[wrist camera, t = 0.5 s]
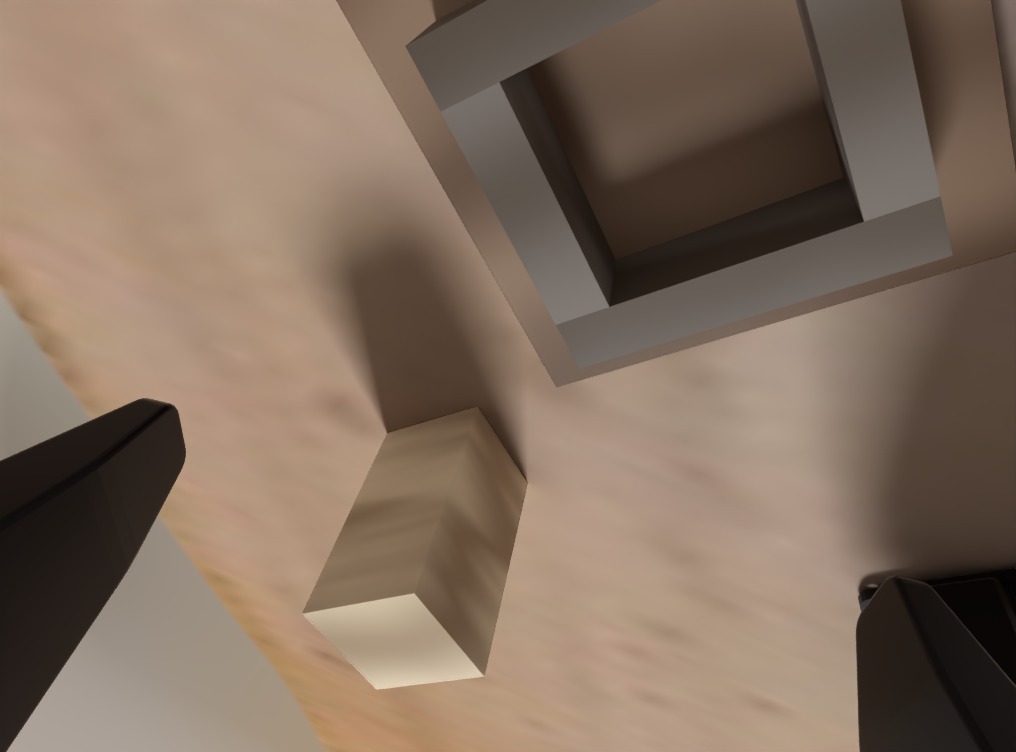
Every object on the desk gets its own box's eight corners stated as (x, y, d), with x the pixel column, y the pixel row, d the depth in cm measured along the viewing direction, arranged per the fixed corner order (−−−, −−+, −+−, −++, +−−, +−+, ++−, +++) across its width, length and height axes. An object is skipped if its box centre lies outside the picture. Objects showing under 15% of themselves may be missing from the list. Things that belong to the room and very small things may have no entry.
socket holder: (1012, 230, 19) (1069, 300, 16) (560, 369, 24) (545, 439, 21) (914, -400, 13) (978, -459, 10) (338, -30, 18) (278, -3, 15)
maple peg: (527, 483, 28) (484, 676, 22) (440, 504, 29) (376, 689, 23) (477, 406, 26) (414, 593, 20) (387, 433, 28) (302, 613, 21)
